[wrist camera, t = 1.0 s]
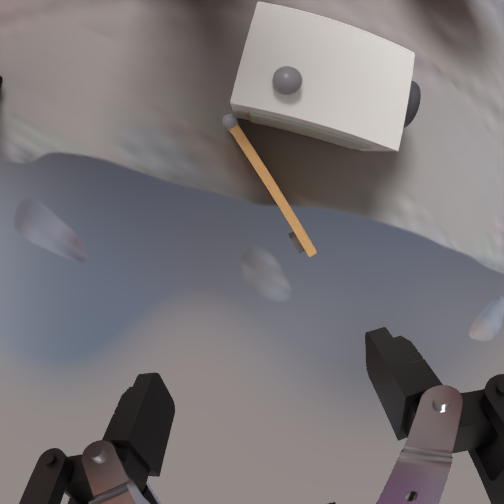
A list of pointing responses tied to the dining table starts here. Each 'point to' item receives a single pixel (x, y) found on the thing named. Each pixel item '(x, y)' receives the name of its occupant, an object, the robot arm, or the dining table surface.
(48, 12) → the dining table surface
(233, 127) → the tan wooden plank
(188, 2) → the dining table surface
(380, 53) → the camera body
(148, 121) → the dining table surface
